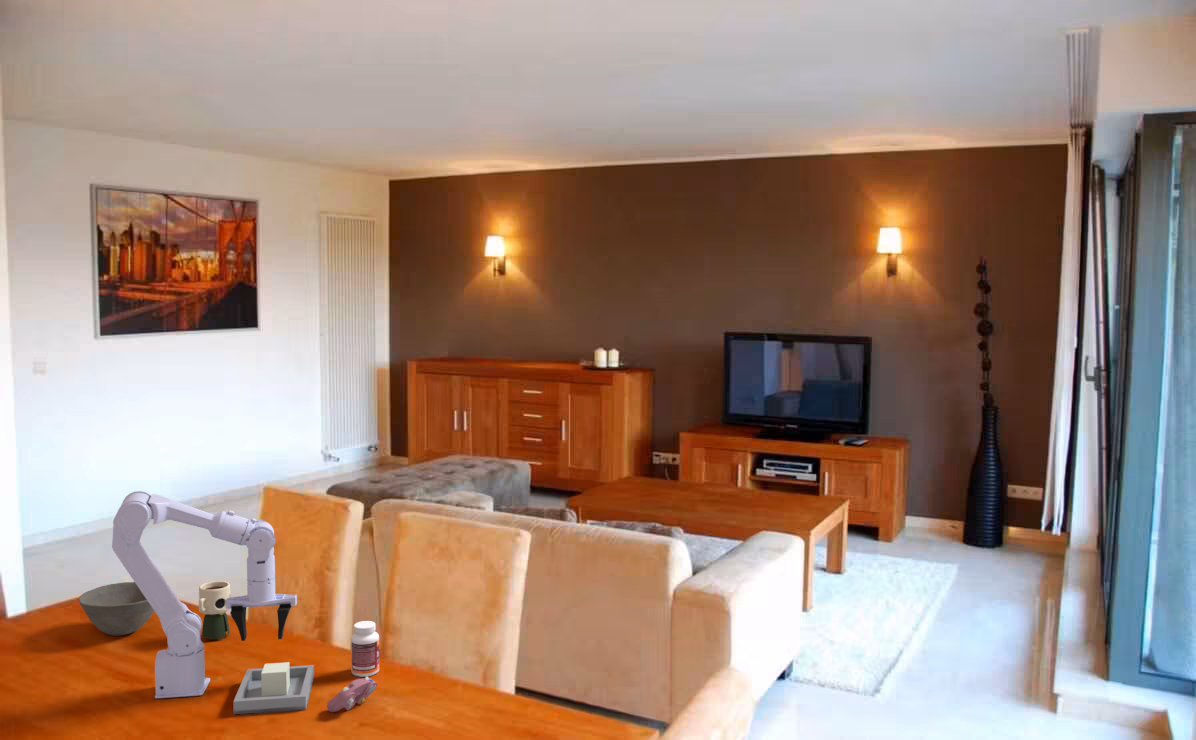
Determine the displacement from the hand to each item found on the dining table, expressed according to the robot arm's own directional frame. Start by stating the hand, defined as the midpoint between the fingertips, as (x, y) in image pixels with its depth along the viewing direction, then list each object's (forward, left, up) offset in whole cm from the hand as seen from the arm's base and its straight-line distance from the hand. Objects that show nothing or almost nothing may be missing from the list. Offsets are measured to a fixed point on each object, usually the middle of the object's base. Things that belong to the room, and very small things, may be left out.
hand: (262, 638), depth 205 cm
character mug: (-15, +28, -10) cm, 33 cm away
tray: (+4, -8, -9) cm, 13 cm away
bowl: (-38, +35, -10) cm, 52 cm away
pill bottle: (+22, +1, -10) cm, 24 cm away
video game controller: (+20, -16, -10) cm, 28 cm away
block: (+4, -8, -9) cm, 12 cm away
